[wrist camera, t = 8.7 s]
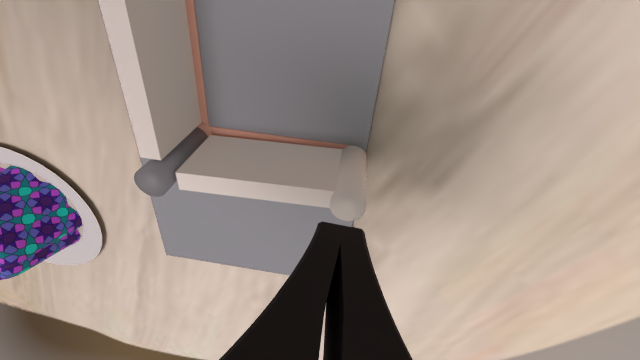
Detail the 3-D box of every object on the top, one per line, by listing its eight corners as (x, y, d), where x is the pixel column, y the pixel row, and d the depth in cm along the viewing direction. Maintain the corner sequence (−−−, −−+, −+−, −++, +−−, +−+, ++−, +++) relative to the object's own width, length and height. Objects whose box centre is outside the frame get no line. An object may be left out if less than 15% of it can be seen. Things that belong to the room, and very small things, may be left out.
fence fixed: (145, -81, 14) (52, -98, 10) (182, -77, 13) (103, -93, 10) (185, 147, 20) (138, 194, 16) (210, 151, 20) (170, 199, 16)
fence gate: (213, 154, 19) (176, 199, 16) (209, 130, 18) (169, 171, 15) (364, 171, 19) (363, 223, 15) (368, 147, 18) (367, 195, 14)
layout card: (74, -114, 14) (64, -117, 13) (409, -84, 13) (410, -85, 12) (168, 251, 26) (165, 255, 26) (341, 279, 25) (341, 284, 25)
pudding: (21, 116, 21) (-70, 156, 17) (138, 246, 27) (93, 301, 22) (-79, 162, 25) (-174, 205, 20) (42, 267, 30) (-12, 318, 26)
